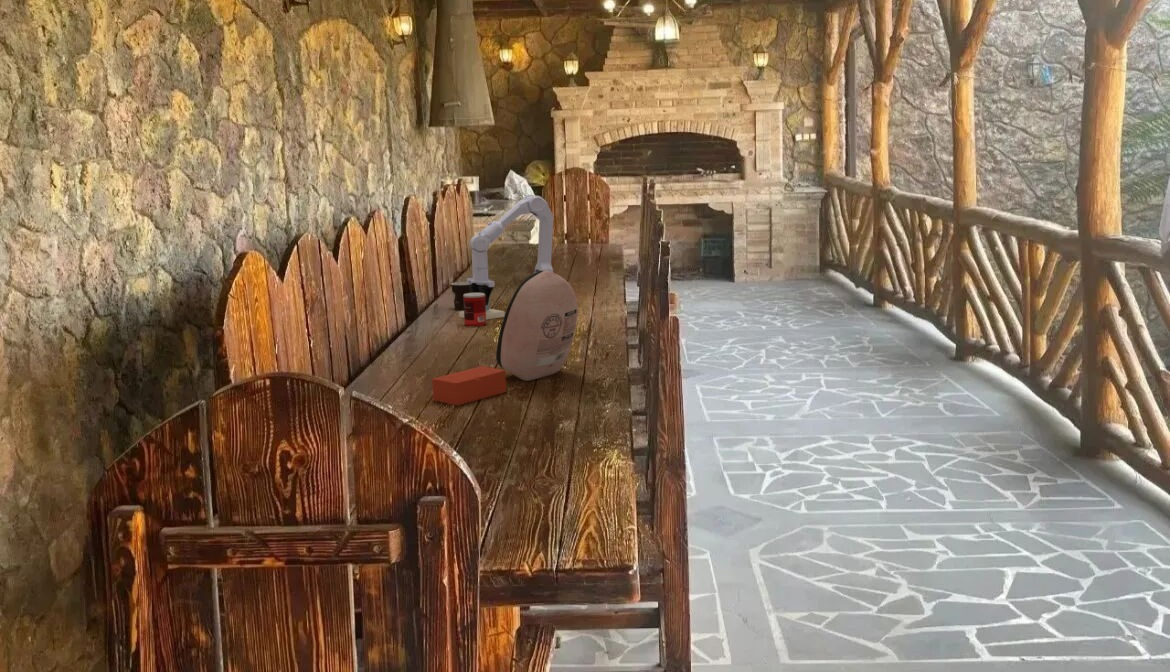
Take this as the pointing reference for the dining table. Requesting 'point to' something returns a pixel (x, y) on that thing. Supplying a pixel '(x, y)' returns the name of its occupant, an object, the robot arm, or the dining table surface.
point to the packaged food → (538, 327)
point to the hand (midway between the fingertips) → (481, 304)
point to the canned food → (474, 309)
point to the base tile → (488, 314)
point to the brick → (469, 385)
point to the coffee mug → (459, 294)
